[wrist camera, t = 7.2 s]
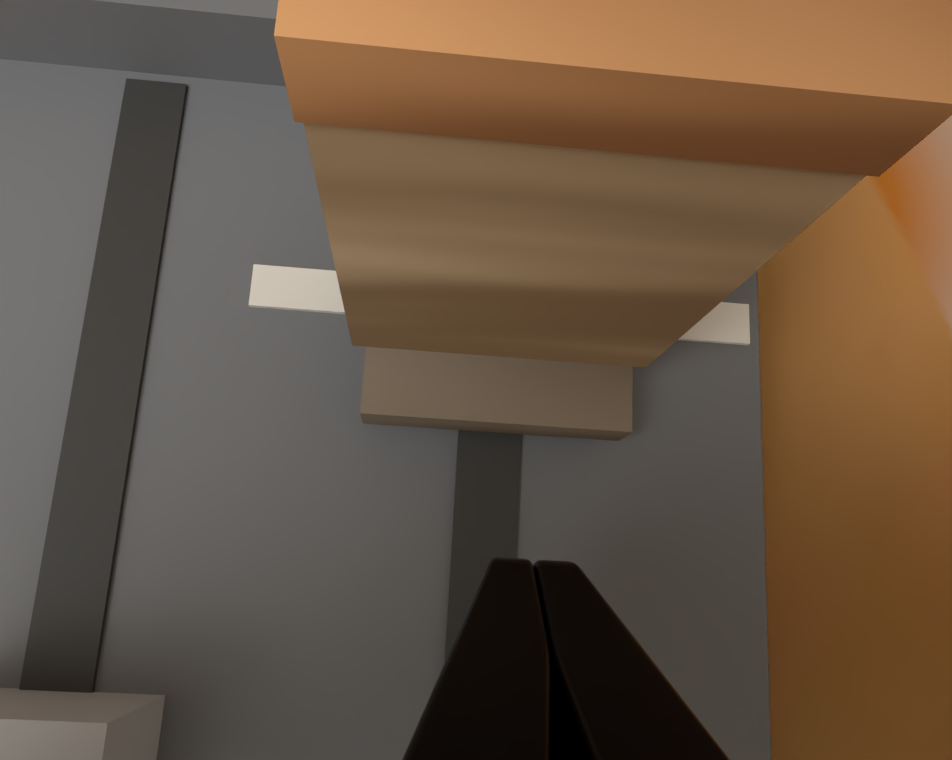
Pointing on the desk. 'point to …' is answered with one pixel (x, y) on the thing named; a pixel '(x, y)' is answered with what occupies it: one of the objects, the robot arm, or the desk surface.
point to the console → (291, 437)
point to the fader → (581, 178)
